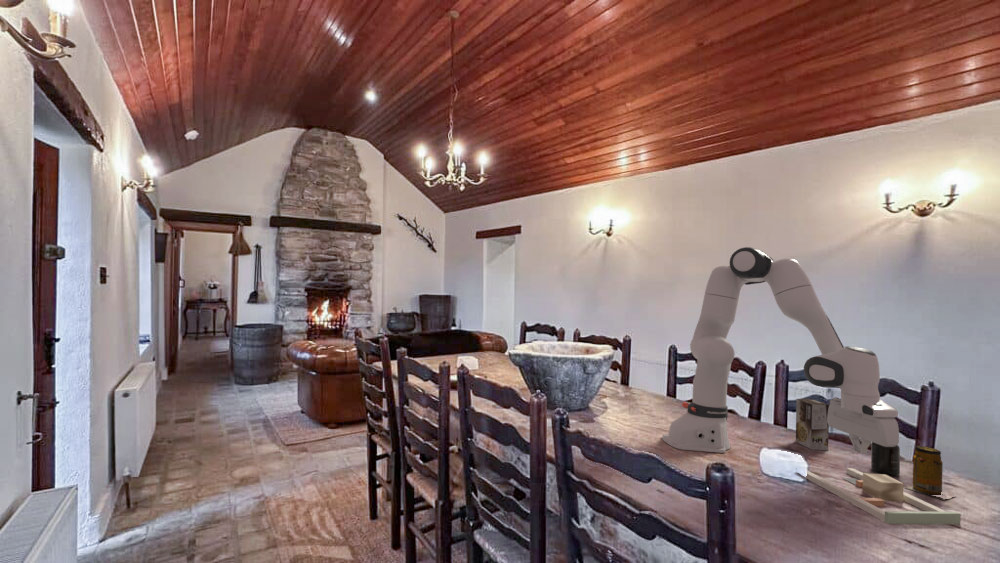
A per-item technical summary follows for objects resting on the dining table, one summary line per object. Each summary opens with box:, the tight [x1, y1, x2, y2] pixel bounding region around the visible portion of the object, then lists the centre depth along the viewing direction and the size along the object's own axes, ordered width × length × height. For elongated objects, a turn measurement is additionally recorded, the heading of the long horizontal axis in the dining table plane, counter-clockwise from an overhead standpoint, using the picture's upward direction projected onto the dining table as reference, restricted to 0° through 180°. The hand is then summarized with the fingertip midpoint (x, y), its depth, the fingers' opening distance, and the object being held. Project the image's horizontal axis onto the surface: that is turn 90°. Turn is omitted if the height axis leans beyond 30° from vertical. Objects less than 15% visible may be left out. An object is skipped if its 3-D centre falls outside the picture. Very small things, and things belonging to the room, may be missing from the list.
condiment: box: [905, 445, 946, 501], centre depth 127 cm, size 7×8×12 cm
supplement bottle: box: [870, 442, 901, 477], centre depth 141 cm, size 7×7×12 cm
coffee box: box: [795, 398, 830, 451], centre depth 165 cm, size 9×6×16 cm
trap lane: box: [805, 467, 962, 525], centre depth 124 cm, size 18×30×2 cm, turn 4°
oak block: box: [862, 472, 904, 503], centre depth 124 cm, size 6×6×5 cm
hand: (860, 452), depth 131 cm, fingers closed
